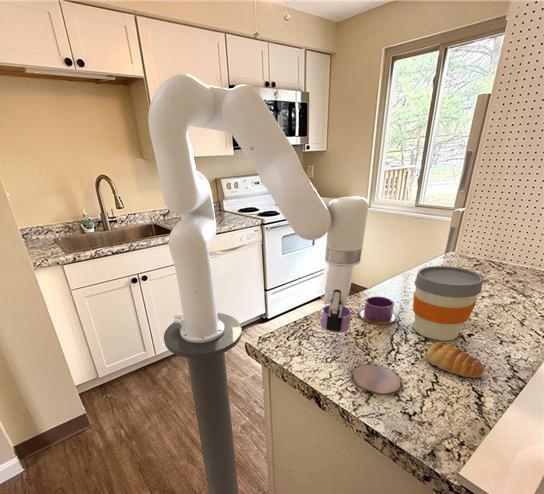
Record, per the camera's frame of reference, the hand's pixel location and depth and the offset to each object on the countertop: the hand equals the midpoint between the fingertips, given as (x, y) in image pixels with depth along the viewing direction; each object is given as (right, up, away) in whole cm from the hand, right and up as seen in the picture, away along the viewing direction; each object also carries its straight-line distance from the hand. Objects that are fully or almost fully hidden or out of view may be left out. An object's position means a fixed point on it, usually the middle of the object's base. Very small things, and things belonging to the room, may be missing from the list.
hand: (335, 322), depth 77 cm
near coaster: (+3, -11, -13) cm, 17 cm away
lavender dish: (0, -1, 0) cm, 1 cm away
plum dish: (+15, +1, +9) cm, 18 cm away
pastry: (+20, -8, -11) cm, 24 cm away
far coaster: (+15, +1, +9) cm, 18 cm away
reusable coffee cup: (+25, -2, 0) cm, 25 cm away
